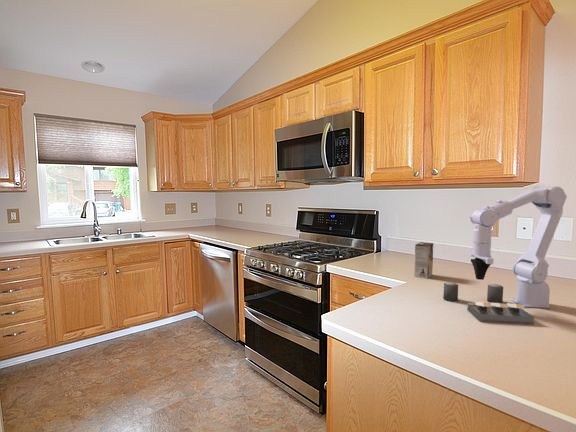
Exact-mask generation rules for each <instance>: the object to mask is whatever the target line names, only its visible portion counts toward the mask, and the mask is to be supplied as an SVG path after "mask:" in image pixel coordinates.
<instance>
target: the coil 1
mask: <svg viewBox="0 0 576 432" xmlns="http://www.w3.org/2000/svg"><path fill="white" fill-rule="evenodd" d="M442 296H443V297H442V298H443V301H447V302H451V303H455V302H458V301H459V284H458V283H456V282H451V281H446V282H443V295H442Z"/></svg>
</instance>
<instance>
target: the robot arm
mask: <svg viewBox="0 0 576 432" xmlns="http://www.w3.org/2000/svg"><path fill="white" fill-rule="evenodd" d="M567 197H568V196H567V194H566V191H565V190H564V188H562V187H561V186H546V187H545V186H541V187H540V186H534V187H532V188H529V189H527V190H526V191H524V192H522V193H521V194H519V195H517V196H515V197H513V198H511V199H509V200H504V199H498V200H497V199H496V201H495V203H493V204H491V205H486V206H484V207H483V209H476V210H474V211H473V212H472V214H471V216H469V219H470V222H471V224H472V228H473V232H472V249H471V250H470V251H469V253H468V256H469V257H473V258H470V262H471V264H472V267H473V269H474V270H473V271H474V276H475V279H476V280H479V281H480V280H482V281H483V280H485V277H486V273H487V272H488V269H489V268H490V267H491V265H494V258H493V257H492V255H491V251H492V250H491V249H492V248H491V247H492V233H493V232H492V231H493V226H494V225H495V224H496V222H497V221H499V220H500V219H502V218H503V219H504V218H505V217H507V216H509V215H511V214H512V213H513V210H515V209H517V208H520V207H522V206H525V205H527V204H530V203H531V204H532V205H533V206H535V207H536V208H537V209H538V210H539V211H540V213H541V216H540V219H539V221H538V224H537V226H536V229H535V231H534V234H533V236H532V239H531V241H530V243H529V246H528V248H527V251H526V253H523V254H522V255H520V256H519V257H518V259H517V260H516V261H515V263H514V264H513V266H512V272H513V274H514V275H515V278H516V292H515V293H516V296H515V298H514V297H513V298H510V300H511V301H512V302H514V303H515V304H522V305H524V307H525V308H526V307H527V308H545V309H546V308H547V309H550V308H551V307H550V306H549V305H550V292H551V291H550V286H549V284H548V283H547V282H546V281H545V280H547V278H548V269H549V266H550V265H549V263H548V261H547V260H546V259H545V257H546V256H547V253H548V250H549V247H550V245H551V242H552V240H553V238H554V235H555V233H556V230H557V228H558V225H559V223H560V220H561V218H562V215H563V212H564V211H563V209H564V205H565V203H566V200H567Z"/></svg>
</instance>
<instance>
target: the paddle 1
mask: <svg viewBox="0 0 576 432" xmlns="http://www.w3.org/2000/svg"><path fill="white" fill-rule="evenodd" d="M475 304H476V305H479V306H483V307H491V303H490V302H483V301H476V302H475Z"/></svg>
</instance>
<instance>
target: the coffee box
mask: <svg viewBox="0 0 576 432" xmlns="http://www.w3.org/2000/svg"><path fill="white" fill-rule="evenodd" d="M434 244H435V243H434V242H424V241H420V242H418V243H416V244H415V245H414V246H415V248H414V277H415V278H421V279H429V278H430V277H431V276H432V275H433V269H434V268H433V267H434V266H433V263H434V262H433V260H434Z"/></svg>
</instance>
